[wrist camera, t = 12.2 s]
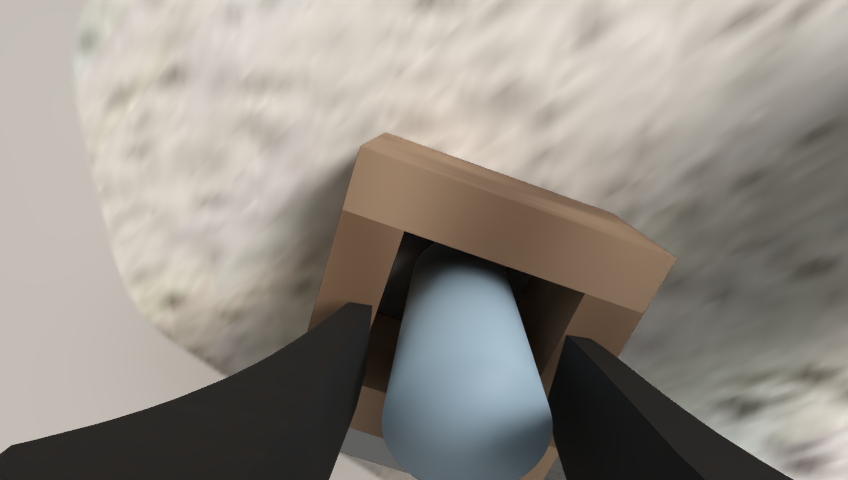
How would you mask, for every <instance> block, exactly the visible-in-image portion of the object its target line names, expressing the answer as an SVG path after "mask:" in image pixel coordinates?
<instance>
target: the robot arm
mask: <svg viewBox="0 0 848 480" xmlns="http://www.w3.org/2000/svg"><path fill="white" fill-rule="evenodd" d="M371 315H372V305H366V304H360V303H353V302H348V303H346V304H345V305H344V306H342V307H341V308H339V309H338V310H337V311H335V312H334V313H333V314H331V315H330V316H329V317H328V318H326V319H325V320H323V321H322V322H321V323H319V324H318V325H317V326H315V327H314V328H312V329H311V330H310V331H308V332H307V333H305V334H304V335H302V336H301V337H300V338H298V339H297V340H295V341H293V342H292V343H290V344H289V345H287V346H285V347H284V348H282V349H281V350H279V351H277V352H276V353H274V354H273V355H271V356H269V357H267V358H265V359H264V360H262V361H260V362H258V363H256V364H254V365H252V366H250V367H248V368H246V369H244V370H242V371H240V372H238V373H236V374H234V375H232V376H230V377H228V378H225V379H223V380H221V381H218V382H216V383H213V384H211V385H209V386H206V387H204V388H201V389H199V390H197V391H194V392H191V393H189V394H187V395H184V396H182V397H179V398H176V399H174V400H171V401H168V402H165V403H162V404H159V405H157V406H154V407H151V408H148V409H145V410H142V411H138V412H135V413H132V414H129V415H126V416H122V417H120V418H116V419H113V420H109V421H106V422H102V423H99V424H95V425H91V426H88V427H84V428H80V429H76V430H72V431H68V432H64V433H60V434H56V435H52V436H48V437H44V438H41V439H37V440H33V441H28V442H24V443H20V444H15V445H11V446H10V447H9V448H7V449H6V450H5V451H3V452H2V453H1V454H0V480H329V478H330V475H331V473H332V470H333V468H334V465H335V462H336V460H337V457H338V455H339V452H340V449H341V447H342V444H343V442H344V439H345V437H346V434H347V431H348V429H349V426H350V423H351V421H352V418H353V416H354V413H355V410H356V407H357V403H358V400H359V396H360V392H361V388H362V384H363V380H364V376H365V371H366V362H367V352H368V343H369V334H370V324H371ZM547 401H548V404H549V407H550V411H551V415H552V424H553V427H552V433H553V438H554V442H555V445H556V448H557V451H558V455H559V458H560V461H561V464H562V468H563V471H564V474H565V477H566V480H793V479H791V478H790V477H788V476H786V475H784V474H783V473H781V472H779V471H777V470H776V469H774V468H772V467H771V466H769V465H767V464H766V463H764V462H762V461H761V460H759V459H757V458H756V457H754V456H753V455H751V454H750V453H748V452H746V451H745V450H743V449H742V448H740V447H739V446H737V445H735V444H734V443H732V442H731V441H729V440H727V439H726V438H724V437H723V436H721V435H720V434H718V433H717V432H715V431H714V430H712V429H711V428H709V427H708V426H707V425H705V424H704V423H702V422H701V421H699V420H698V419H697V418H695V417H694V416H693V415H691V414H690V413H688V412H687V411H686V410H684V409H683V408H681V407H680V406H679V405H677V404H676V403H675V402H673V401H672V400H671V399H669V398H668V397H667V396H665V395H664V394H663V393H661V392H660V391H659V390H657V389H656V388H655V387H654V386H652V385H651V384H650V383H648V382H647V381H646V380H645V379H643V378H642V377H641V376H640V375H638V374H637V373H636V372H635V371H633V370H632V369H631V368H630V367H628V366H627V365H626V364H624V363H623V362H622V361H621V360H619V359H618V358H617V357H616V356H614V355H613V354H612V353H610V352H609V351H608V350H607V349H605V348H604V347H603V346H601V345H600V344H598V343H597V342H595V341H594V340H592V339H591V338H584V337H578V336H571V335H566V337H565V341H564V344H563V348H562V351H561V354H560V358H559V361H558V365H557V368H556V372H555V375H554V378H553V382H552V385H551V389H550V392H549V395H548V399H547Z"/></svg>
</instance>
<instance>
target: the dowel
mask: <svg viewBox="0 0 848 480" xmlns="http://www.w3.org/2000/svg"><path fill="white" fill-rule="evenodd" d="M381 426H382V434H383V438H384V441H385V443H386V446H387V448H388V450H389V451H390V453H391V455H392V456H393V458H394V459H395V460H396V461H397V463H398V464H399V465H400V466H401V467H402V468H403V469H405V470H406V471H407V472H408V473H410V474H411V475H412V476H414V477H416V478H417V479H419V480H518V479H520V478H521V477H523V476H524V475H526V474H527V473H528V472H530V471H531V470H532V469H533V468H534V467H535V466H536V465H537V464H538V463H539V461H540V460H541V459H542V457H543V456H544V454H545V453H546V451H547V448H548V446H549V444H550V440H551V436H552V427H553V424H552V415H551V411H550V407H549V404H548V401H547V398H546V395H545V392H544V389H543V386H542V383H541V379H540V376H539V373H538V370H537V367H536V364H535V361H534V358H533V355H532V351H531V348H530V345H529V342H528V339H527V336H526V333H525V330H524V327H523V324H522V320H521V317H520V314H519V311H518V308H517V305H516V302H515V299H514V296H513V293H512V289H511V286H510V283H509V280H508V277H507V274H506V271H505V268H504V265H501V264H499V263H496V262H493V261H490V260H487V259H484V258H481V257H478V256H475V255H473V254H470V253H467V252H464V251H461V250H458V249H455V248H452V247H449V246H446V245H444V244H441V243H438V242H435V243H434V244H432V245H430V246H429V247H428V248H426V249H425V250H424V251H423V252H422V254H421V255H420V256H419V258H418V259H417V261H416V263H415V266H414V269H413V273H412V277H411V282H410V286H409V291H408V296H407V300H406V305H405V310H404V314H403V319H402V323H401V328H400V333H399V337H398V342H397V347H396V351H395V356H394V360H393V365H392V370H391V374H390V379H389V383H388V388H387V393H386V397H385V402H384V407H383V411H382V419H381Z"/></svg>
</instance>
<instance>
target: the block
mask: <svg viewBox="0 0 848 480" xmlns="http://www.w3.org/2000/svg"><path fill="white" fill-rule="evenodd" d="M404 231H406V232H409V233H412V234H415V235H418V236H420V237H423V238H426V239H429V240H432V241H435V242H438V243H441V244H444V245H446V246H449V247H452V248H455V249H458V250H461V251H464V252H467V253H470V254H473V255H475V256H478V257H481V258H484V259H487V260H490V261H493V262H496V263H499V264H501V265H504V266H507V267H510V268H513V269H516V270H519V271H522V272H525V273H528V274H530V275H532V278H531V280H530V282H529V284H528V286H527V288H526V290H525V292H524V294H523V296H522V298H521V300H520V303H519V305H518V307H517V308H518V311H519V314H520V317H521V320H522V324H523V327H524V330H525V333H526V336H527V339H528V342H529V345H530V348H531V351H532V355H533V358H534V361H535V364H536V367H537V370H538V373H539V376H540V379H541V383H542V386H543V389H544V392H545V395H546V398H547V399H548V395H549V392H550V389H551V385H552V382H553V378H554V375H555V372H556V368H557V365H558V361H559V358H560V354H561V351H562V348H563V344H564V341H565V337H566V335H571V336H578V337H584V338H591V339H592V340H594V341H595V342H597V343H598V344H600V345H601V346H603V347H604V348H605V349H607V350H608V351H609V352H610V353H612V354H613V355H614V356H616V357H618V355H619V353H620V352H621V350H622V348H623V347H624V345H625V344H626V342H627V340H628V339H629V337H630V335H631V334H632V332H633V330H634V329H635V327H636V325H637V324H638V322H639V320H640V319H641V317H642V315H643V314H644V312H645V310H646V309H647V307H648V305H649V304H650V302H651V300H652V299H653V297H654V296H655V294H656V292H657V291H658V289H659V287H660V286H661V284H662V282H663V281H664V279H665V277H666V276H667V274H668V272H669V271H670V269H671V267H672V266H673V264H674V262H675V261H676V259H677V258H675V257H674V256H673V255H671V254H670V253H668V252H667V251H666V250H664V249H663V248H661V247H660V246H658V245H657V244H656V243H654V242H653V241H651V240H650V239H649V238H647V237H646V236H644V235H643V234H641V233H640V232H639V231H637V230H636V229H634V228H633V227H632V226H630V225H629V224H627V223H626V222H624V221H623V220H622V219H620V218H619V217H617V216H616V215H615V214H612V213H609V212H607V211H604V210H601V209H598V208H595V207H593V206H590V205H587V204H584V203H581V202H579V201H576V200H573V199H570V198H568V197H565V196H562V195H559V194H556V193H554V192H551V191H548V190H545V189H542V188H540V187H537V186H534V185H531V184H528V183H526V182H523V181H520V180H517V179H514V178H512V177H509V176H506V175H503V174H500V173H498V172H495V171H492V170H489V169H486V168H484V167H481V166H478V165H475V164H473V163H470V162H467V161H464V160H461V159H459V158H456V157H453V156H450V155H447V154H445V153H442V152H439V151H436V150H433V149H431V148H428V147H425V146H422V145H419V144H417V143H414V142H411V141H408V140H405V139H403V138H400V137H397V136H394V135H392V134H389V133H384V134H382V135H380V136H378V137H376V138H374V139H373V140H371V141H369V142H367V143H365V144H363V145H361V146H360V148H359V152H358V155H357V159H356V162H355V166H354V169H353V173H352V176H351V180H350V183H349V187H348V190H347V194H346V198H345V201H344V205H343V208H342V212H341V215H340V219H339V222H338V226H337V229H336V233H335V236H334V240H333V243H332V247H331V250H330V254H329V257H328V261H327V264H326V268H325V271H324V275H323V279H322V282H321V286H320V289H319V293H318V296H317V300H316V303H315V307H314V310H313V314H312V317H311V321H310V324H309V328H308V331H310V330H311V329H312V328H314V327H315V326H317V325H318V324H319V323H321V322H322V321H323V320H325V319H326V318H328V317H329V316H330V315H331V314H333V313H334V312H335V311H337V310H338V309H339V308H341V307H342V306H344V305H345V304H346V303H348V302H353V303H360V304H366V305H372V315H371V324H370V334H369V343H368V352H367V362H366V371H365V376H364V380H363V384H362V388H361V392H360V396H359V400H358V403H357V407H356V410H355V413H354V416H353V418H352V421H351V423H350V426H349V428H352V429H355V430H358V431H361V432H364V433H367V434H370V435H374V436H377V437H380V438H383V434H382V426H381V419H382V411H383V407H384V402H385V397H386V393H387V388H388V383H389V379H390V374H391V370H392V365H393V360H394V356H395V351H396V347H397V342H398V337H399V333H400V328H401V323H402V321H400V320H397V319H394V318H391V317H388V316H385V315H382V314H379V313H376V312H377V309H378V306H379V303H380V300H381V297H382V294H383V292H384V289H385V286H386V283H387V280H388V277H389V274H390V271H391V268H392V266H393V263H394V260H395V257H396V254H397V251H398V248H399V245H400V242H401V239H402V237H403V234H404ZM308 331H307V332H308ZM383 439H384V438H383ZM557 456H558V451H557V448H556V445H555V442H554V438H553V433H552V436H551V440H550V444H549V446H548V448H547V451H546V453H545V454H544V456H543V457H542V459H541V460H540V461H539V463H538V464H537V465H536V466H535V467H534V468H533V469H532V470H531V471H530V472H528V473H527V474H526V475H524V476H523V477H521V478H520V479H518V480H543V479H544V478H545V476H546V474H547V473H548V471H549V469H550V468H551V466H552V464H553V463H554V461H555V459H556V458H557Z"/></svg>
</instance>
